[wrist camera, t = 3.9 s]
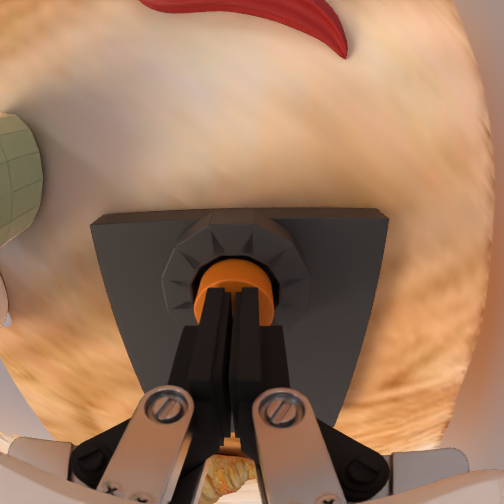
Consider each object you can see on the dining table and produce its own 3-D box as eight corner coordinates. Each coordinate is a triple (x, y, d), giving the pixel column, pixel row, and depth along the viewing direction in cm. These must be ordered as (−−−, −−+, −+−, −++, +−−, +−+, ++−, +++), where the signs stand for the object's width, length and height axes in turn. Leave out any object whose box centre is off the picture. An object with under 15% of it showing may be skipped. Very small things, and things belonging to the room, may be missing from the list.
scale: (101, 207, 13) (69, 231, 10) (378, 201, 13) (407, 223, 10) (163, 413, 20) (156, 444, 17) (331, 412, 20) (337, 444, 17)
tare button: (196, 258, 11) (189, 279, 9) (272, 257, 11) (275, 278, 9) (204, 318, 12) (199, 343, 11) (271, 317, 12) (273, 342, 11)
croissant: (240, 410, 24) (210, 461, 17) (290, 477, 23) (276, 531, 16) (110, 443, 29) (73, 472, 21) (153, 496, 28) (125, 528, 20)
